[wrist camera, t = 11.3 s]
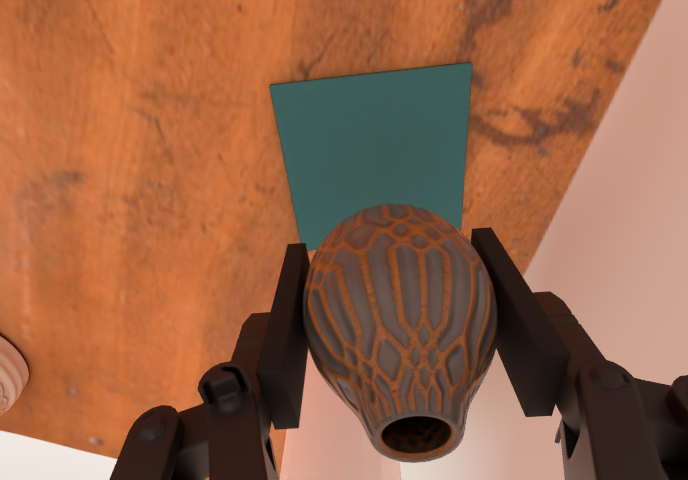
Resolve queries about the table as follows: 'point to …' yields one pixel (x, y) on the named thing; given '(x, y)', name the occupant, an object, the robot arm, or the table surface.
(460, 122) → the mat
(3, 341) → the jar
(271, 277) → the table surface
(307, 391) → the bottle
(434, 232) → the vase
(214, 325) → the table surface
